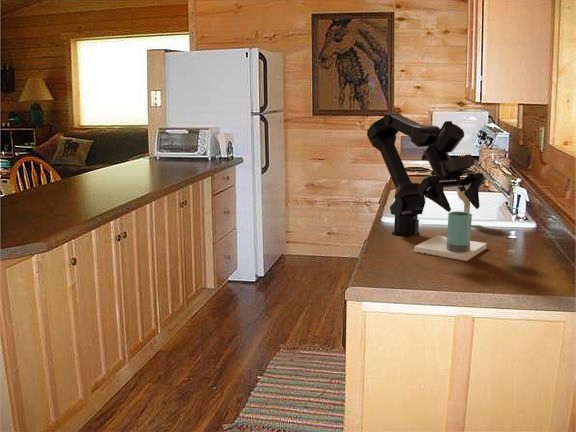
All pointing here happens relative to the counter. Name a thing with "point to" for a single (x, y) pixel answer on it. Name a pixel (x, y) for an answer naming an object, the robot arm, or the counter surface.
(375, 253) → the counter surface
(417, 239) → the counter surface
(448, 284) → the counter surface
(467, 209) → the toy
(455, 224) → the teal faceted cylinder
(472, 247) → the pin board
